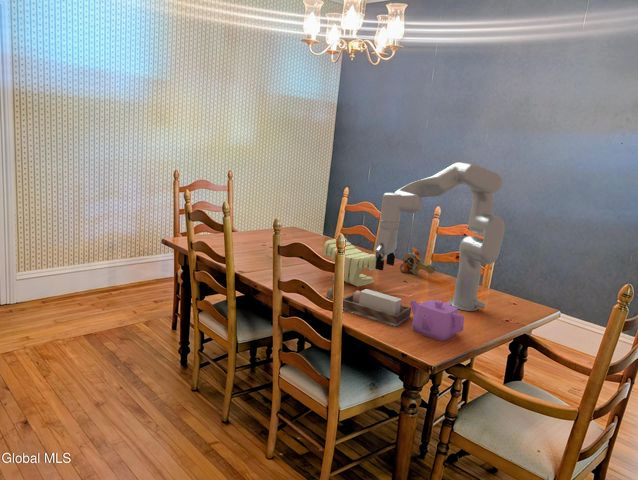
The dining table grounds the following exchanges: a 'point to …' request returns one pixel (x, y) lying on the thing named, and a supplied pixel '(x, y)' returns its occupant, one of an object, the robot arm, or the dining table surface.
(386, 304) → the pale grey block
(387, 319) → the wooden tray
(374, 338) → the dining table surface
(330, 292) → the chocolate bunny
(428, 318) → the teakettle
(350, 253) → the slatted curved stool
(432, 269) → the toy helicopter
